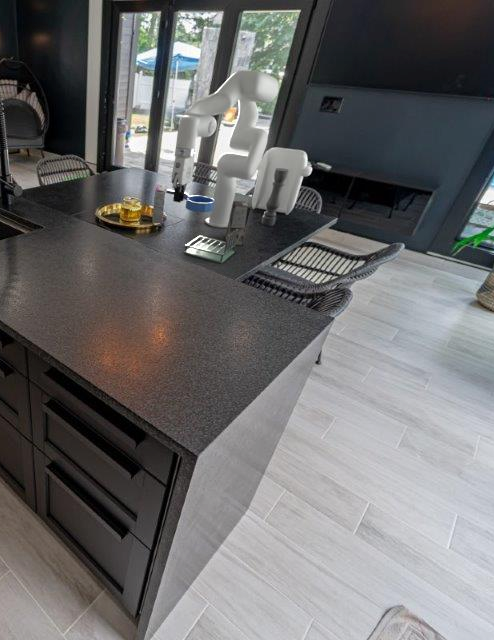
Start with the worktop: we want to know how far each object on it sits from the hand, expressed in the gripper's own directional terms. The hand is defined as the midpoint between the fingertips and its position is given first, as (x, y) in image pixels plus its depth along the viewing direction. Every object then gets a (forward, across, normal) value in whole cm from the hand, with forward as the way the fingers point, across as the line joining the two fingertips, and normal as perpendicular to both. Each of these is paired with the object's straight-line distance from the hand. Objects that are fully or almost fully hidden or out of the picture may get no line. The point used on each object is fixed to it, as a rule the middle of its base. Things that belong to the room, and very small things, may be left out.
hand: (178, 200), depth 165 cm
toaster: (+17, +77, -19) cm, 81 cm away
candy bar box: (+17, +17, +17) cm, 30 cm away
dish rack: (+17, -2, -18) cm, 25 cm away
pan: (+1, 0, -5) cm, 5 cm away
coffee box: (+17, +18, -21) cm, 32 cm away
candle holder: (+17, +52, -25) cm, 60 cm away
